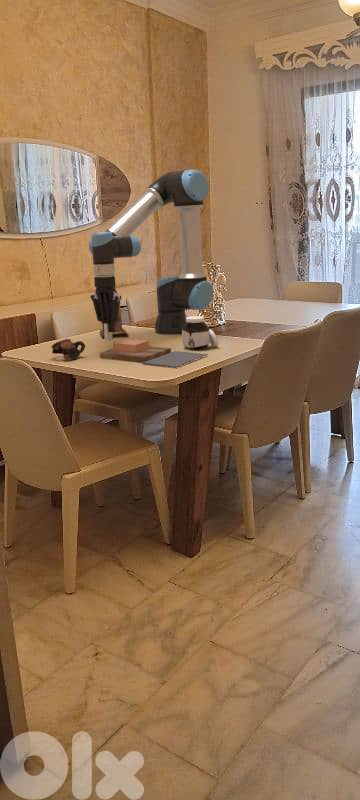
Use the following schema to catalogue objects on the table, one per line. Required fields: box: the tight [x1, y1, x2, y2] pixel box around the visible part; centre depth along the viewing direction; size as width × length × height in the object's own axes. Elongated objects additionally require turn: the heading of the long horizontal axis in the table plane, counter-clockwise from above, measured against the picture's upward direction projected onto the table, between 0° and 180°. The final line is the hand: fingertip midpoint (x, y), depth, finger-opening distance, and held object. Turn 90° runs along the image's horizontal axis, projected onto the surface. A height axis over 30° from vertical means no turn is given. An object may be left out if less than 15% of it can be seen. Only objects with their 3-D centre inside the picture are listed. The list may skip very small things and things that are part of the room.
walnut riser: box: [99, 345, 172, 364], centre depth 230 cm, size 16×20×2 cm
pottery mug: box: [51, 338, 86, 362], centre depth 231 cm, size 12×10×8 cm
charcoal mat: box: [142, 350, 209, 368], centre depth 221 cm, size 20×14×1 cm
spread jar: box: [181, 315, 219, 351], centre depth 238 cm, size 12×11×12 cm
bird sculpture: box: [99, 274, 129, 339], centre depth 266 cm, size 11×12×32 cm
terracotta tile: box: [112, 338, 150, 353], centre depth 231 cm, size 8×10×3 cm
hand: (108, 340), depth 235 cm, fingers closed
